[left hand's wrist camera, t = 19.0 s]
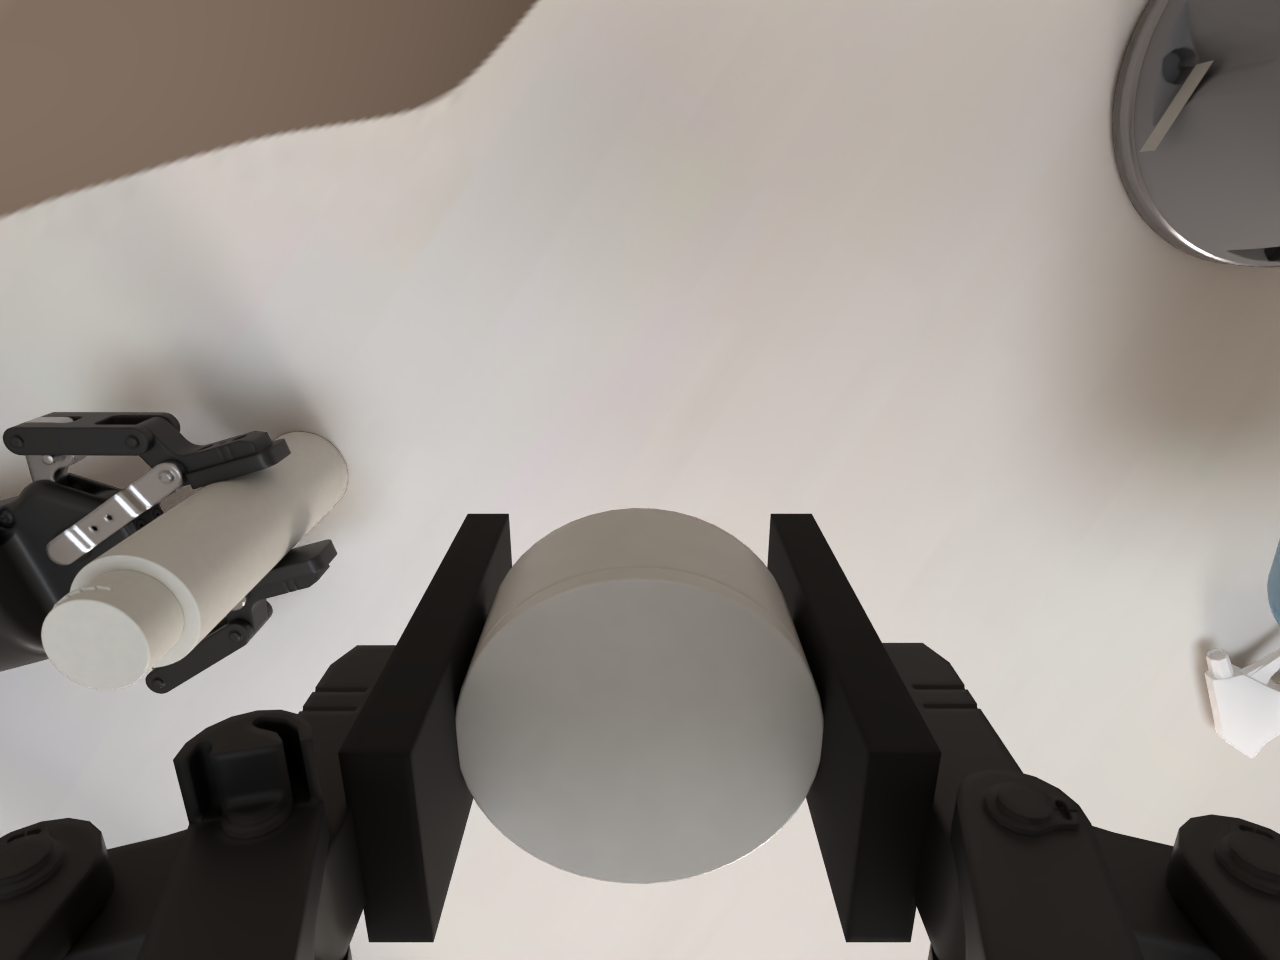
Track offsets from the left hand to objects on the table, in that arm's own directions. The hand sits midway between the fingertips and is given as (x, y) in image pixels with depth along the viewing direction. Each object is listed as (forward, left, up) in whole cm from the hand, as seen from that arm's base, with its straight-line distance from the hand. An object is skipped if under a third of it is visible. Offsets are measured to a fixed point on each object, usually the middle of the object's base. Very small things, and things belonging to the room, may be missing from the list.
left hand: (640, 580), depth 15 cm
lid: (0, 0, +4) cm, 4 cm away
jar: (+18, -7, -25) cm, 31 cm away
